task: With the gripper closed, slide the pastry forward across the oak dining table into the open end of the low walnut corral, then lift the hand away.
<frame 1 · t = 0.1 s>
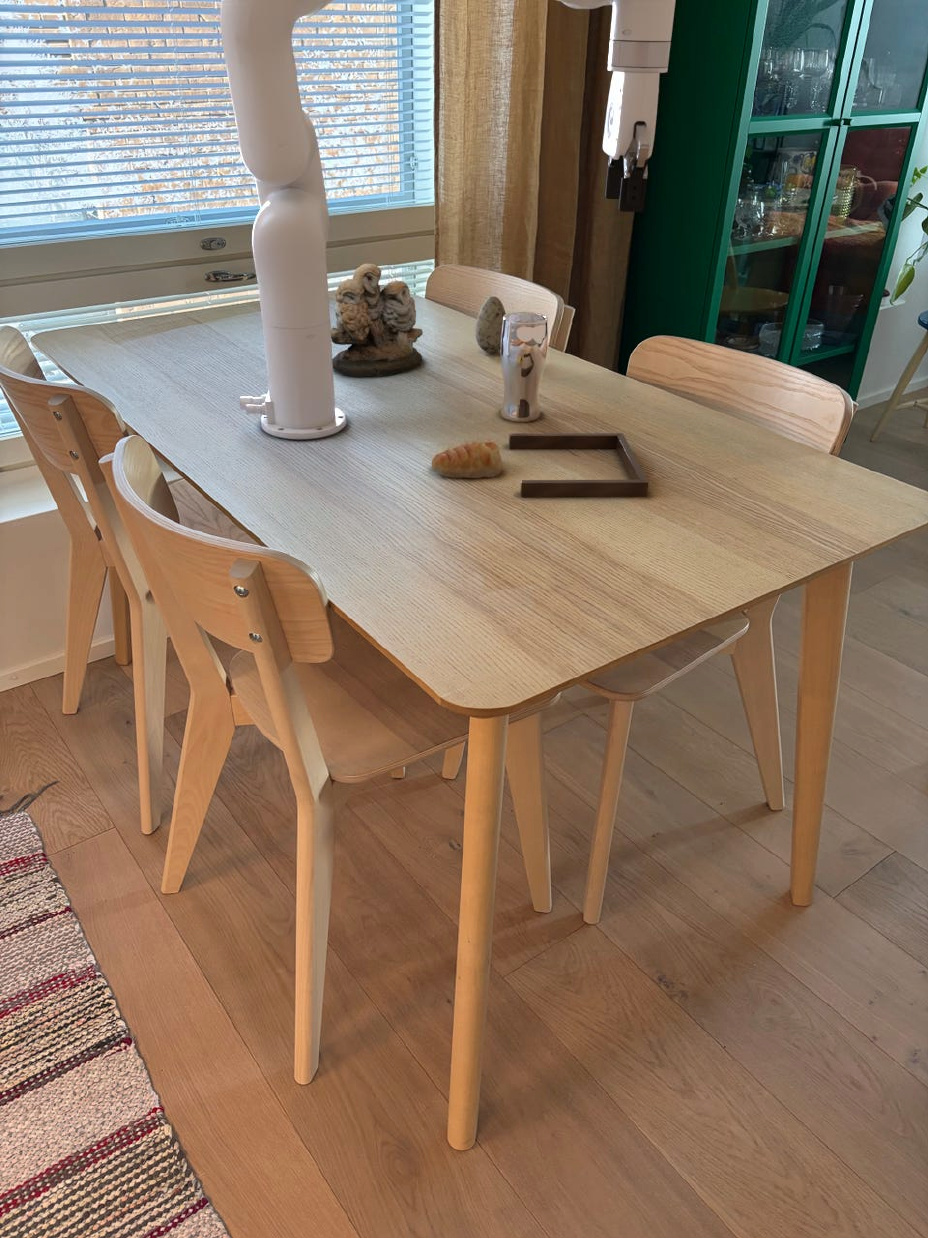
hand: (623, 204, 129), 31 cm above the table, tool pointing down, fingers open, 9 cm apart
decorative egg: (490, 353, 175), on the table
corral: (572, 470, 131), on the table
pastry: (470, 471, 130), on the table
beer glass: (520, 416, 149), on the table
owl figurine: (375, 366, 167), on the table
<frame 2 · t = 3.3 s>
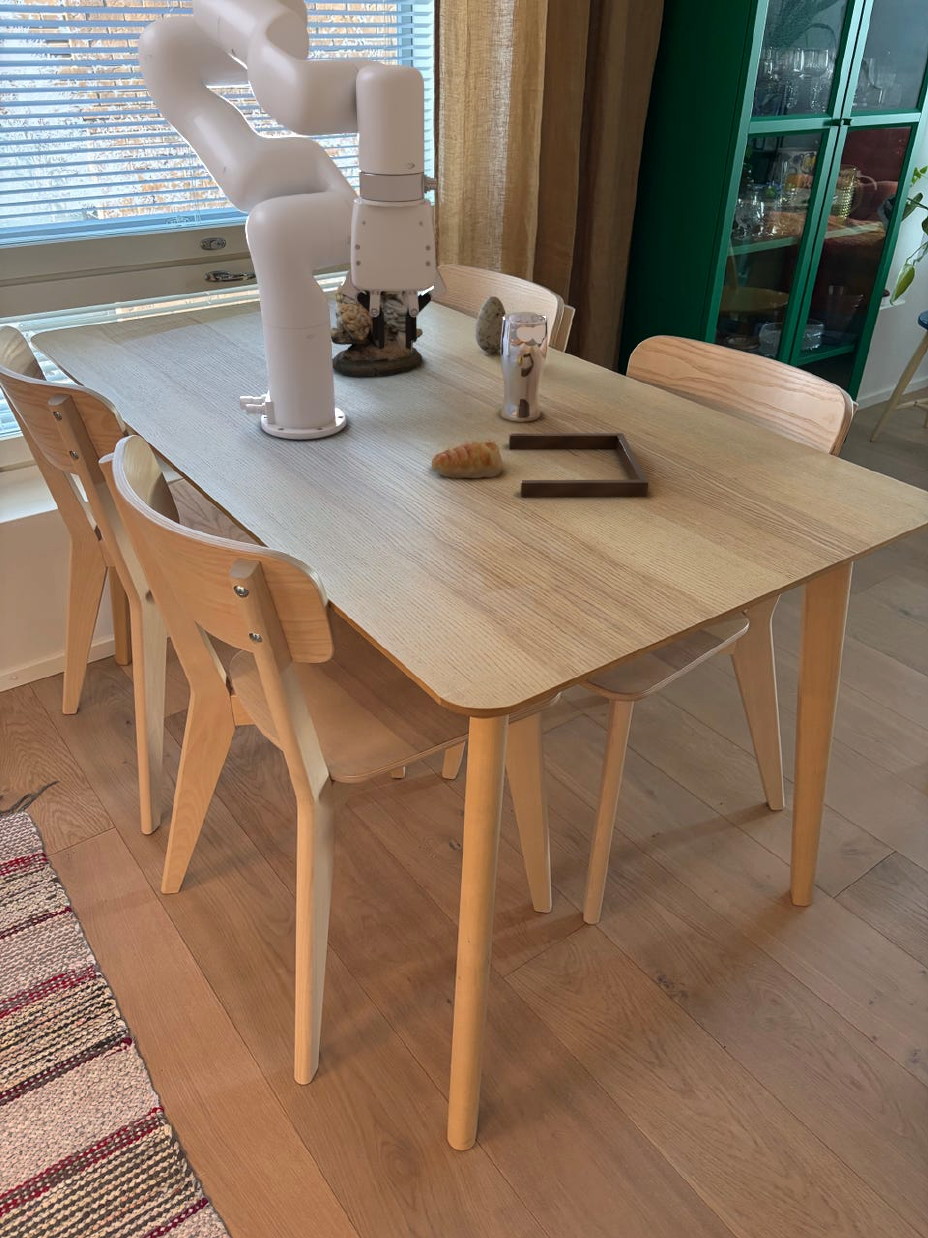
hand: (395, 344, 121), 17 cm above the table, tool pointing down, fingers closed
nothing on the table moved.
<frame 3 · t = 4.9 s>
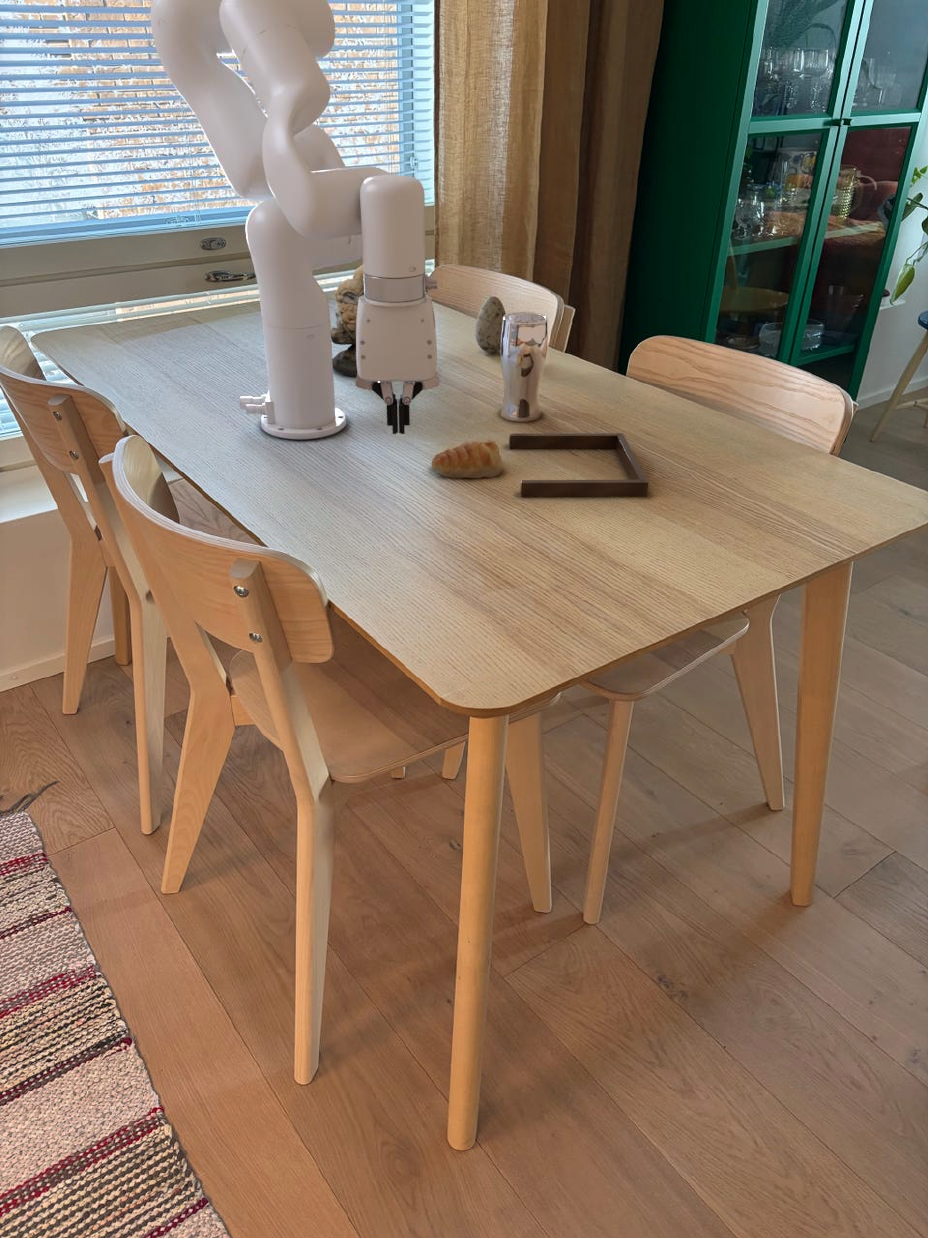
hand: (398, 430, 126), 6 cm above the table, tool pointing down, fingers closed
nothing on the table moved.
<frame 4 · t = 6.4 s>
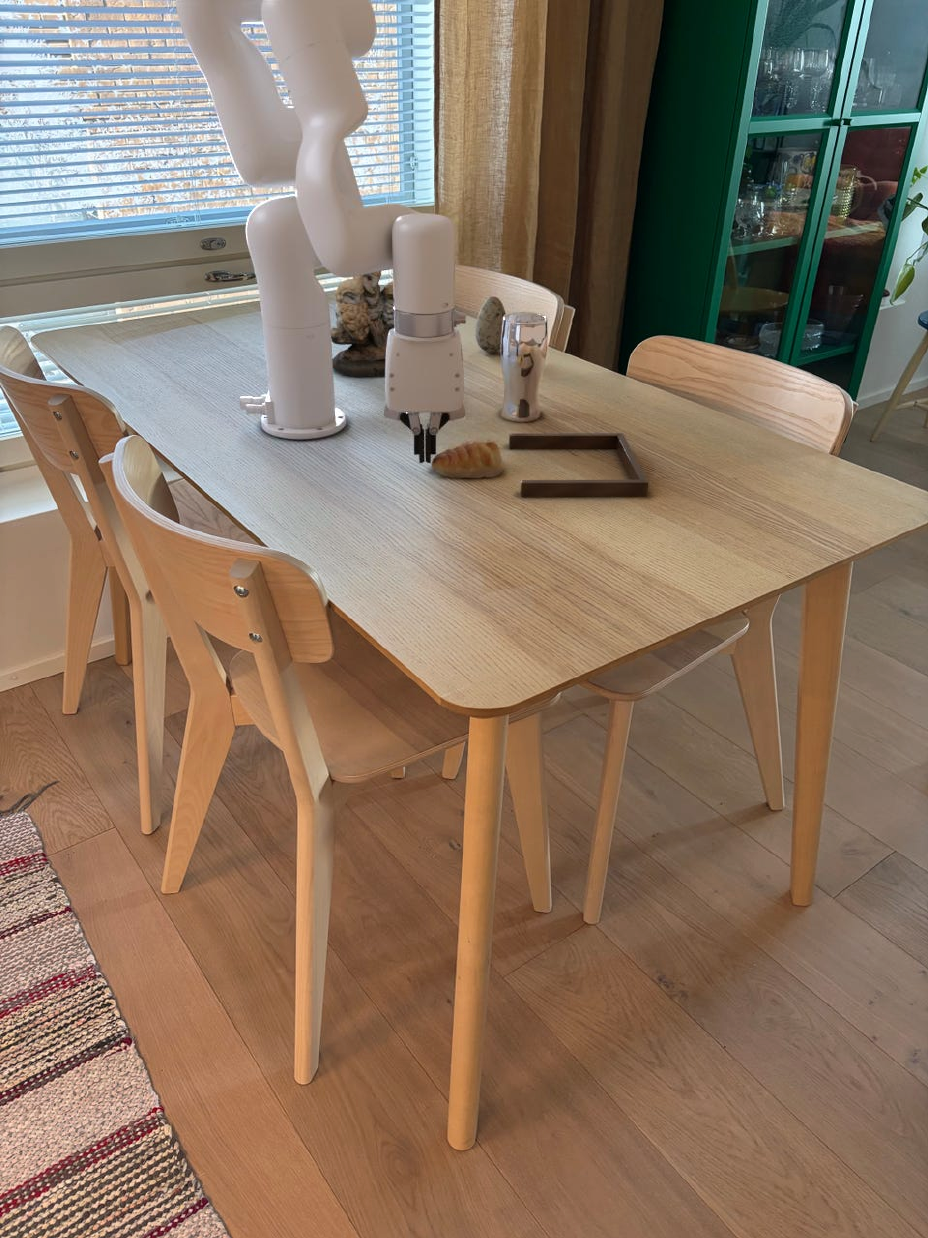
hand: (425, 458, 129), 2 cm above the table, tool pointing down, fingers closed
pastry: (471, 471, 130), on the table, touching gripper
everything else where it was.
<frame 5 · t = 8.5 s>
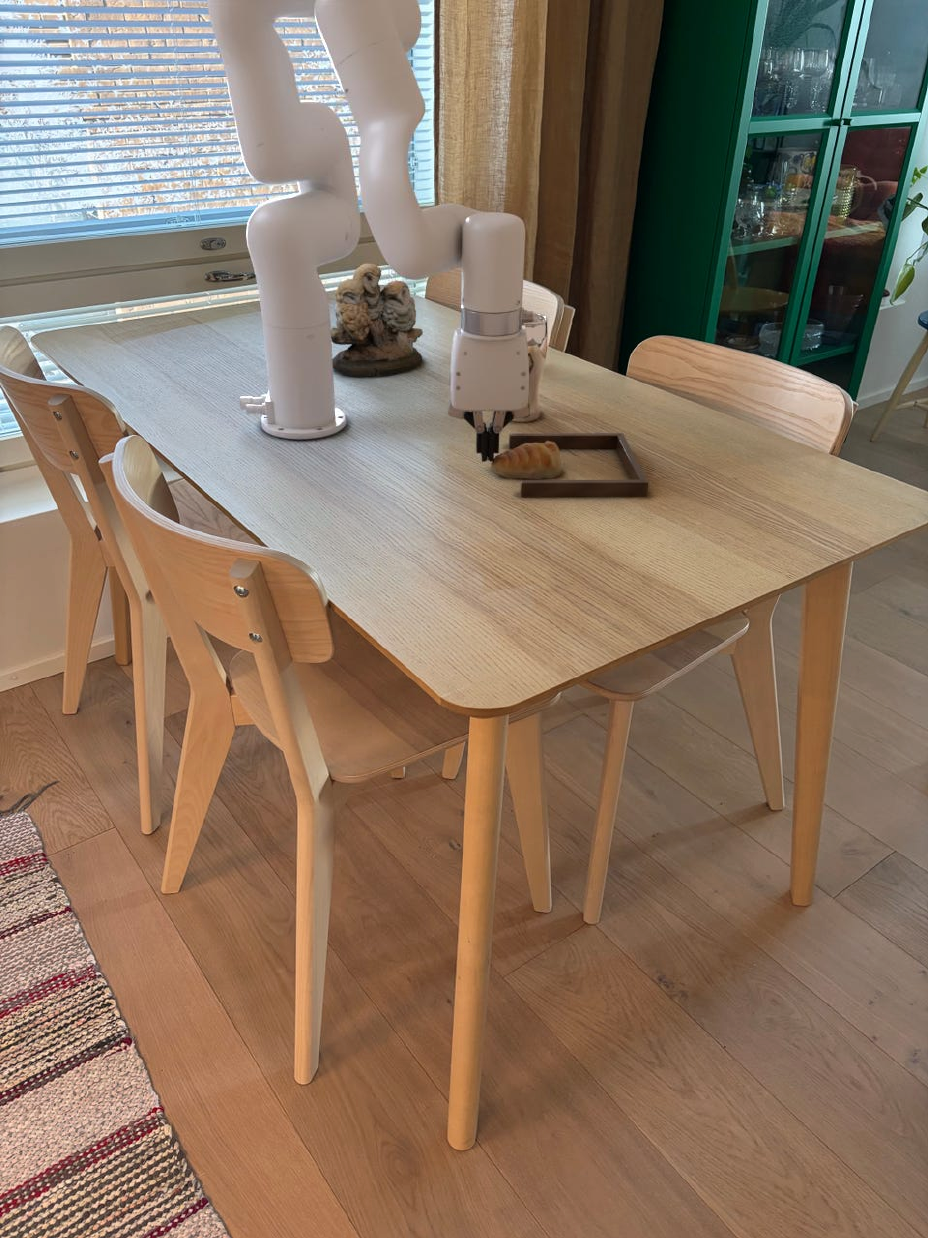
hand: (487, 457, 129), 2 cm above the table, tool pointing down, fingers closed
pastry: (530, 472, 131), on the table, touching gripper
everything else where it was.
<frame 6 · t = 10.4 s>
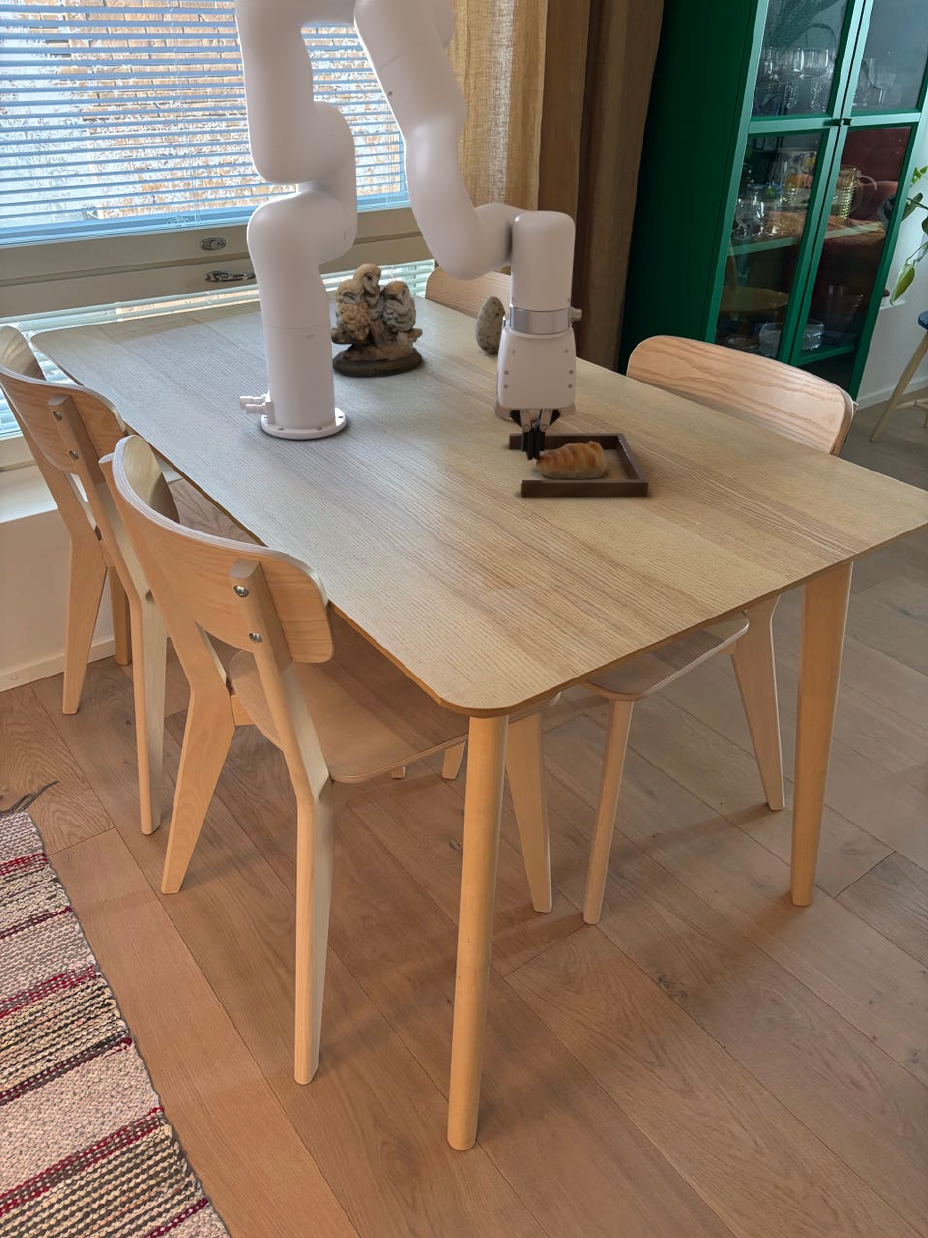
hand: (532, 455, 129), 2 cm above the table, tool pointing down, fingers closed
pastry: (573, 472, 131), on the table, touching gripper
everything else where it was.
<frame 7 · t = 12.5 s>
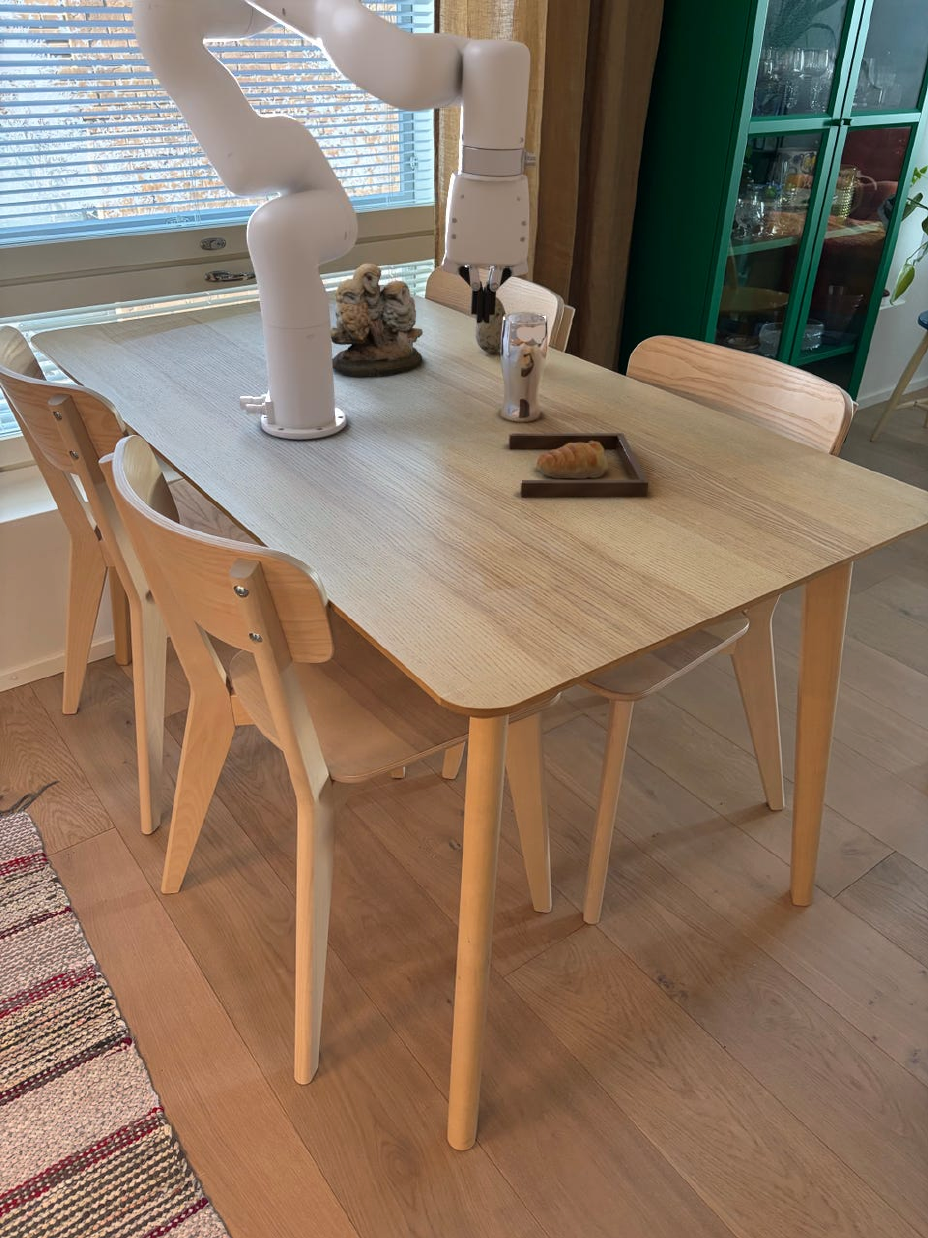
hand: (482, 319, 122), 20 cm above the table, tool pointing down, fingers closed
pastry: (574, 472, 131), on the table
everything else where it was.
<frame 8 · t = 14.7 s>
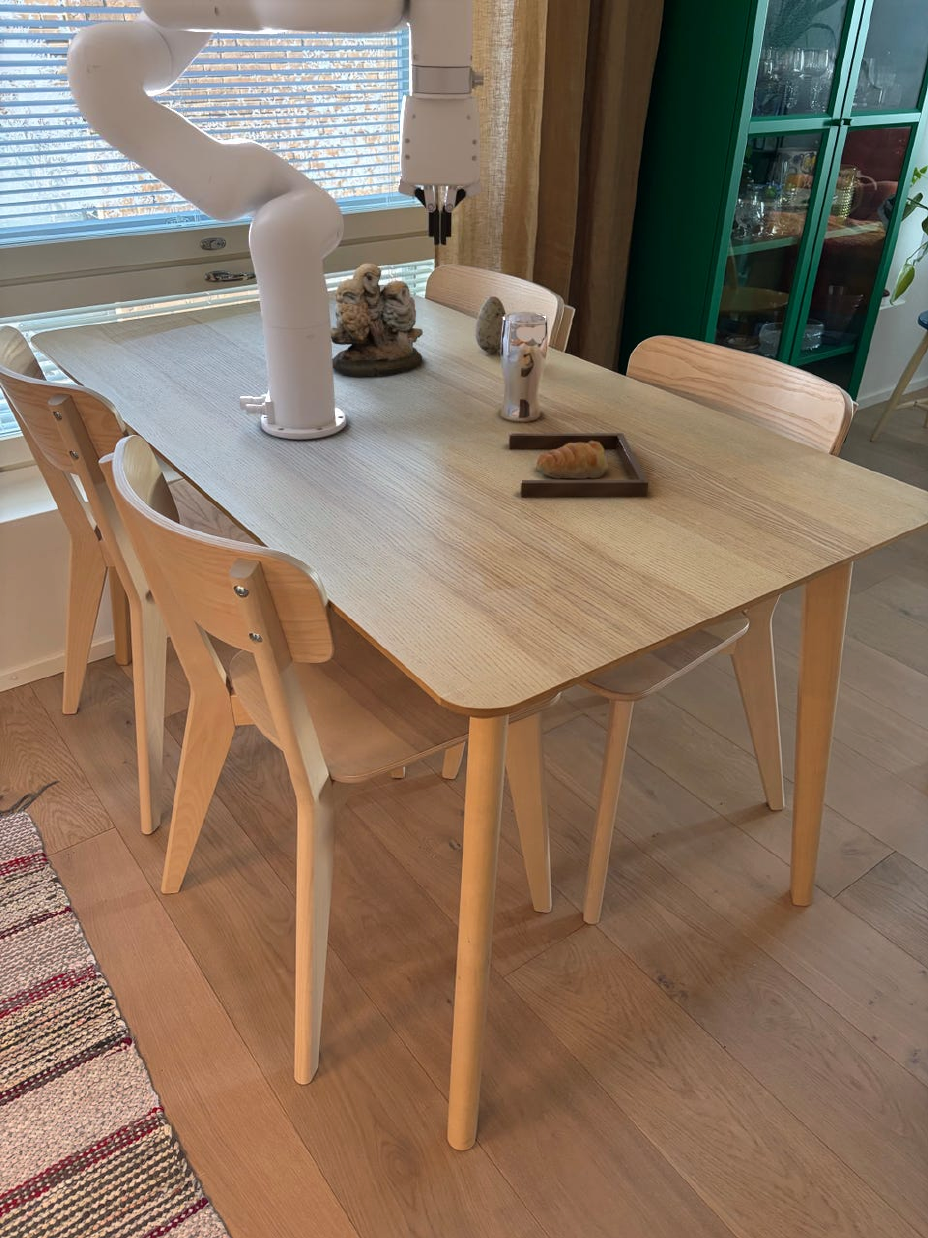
hand: (439, 242, 126), 27 cm above the table, tool pointing down, fingers closed
nothing on the table moved.
at the end: pastry inside the target area (0.4 cm from its centre), on the table; pastry moved 14.2 cm from its start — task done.
